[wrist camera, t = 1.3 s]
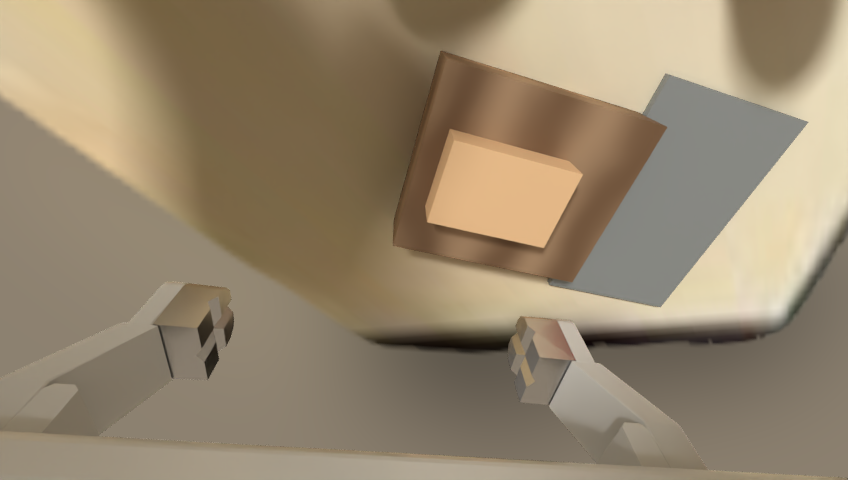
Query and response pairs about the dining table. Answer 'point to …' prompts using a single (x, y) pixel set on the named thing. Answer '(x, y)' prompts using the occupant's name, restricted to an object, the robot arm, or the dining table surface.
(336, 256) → the dining table surface
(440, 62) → the deck
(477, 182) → the tile
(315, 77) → the dining table surface
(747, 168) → the mat
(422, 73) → the dining table surface
